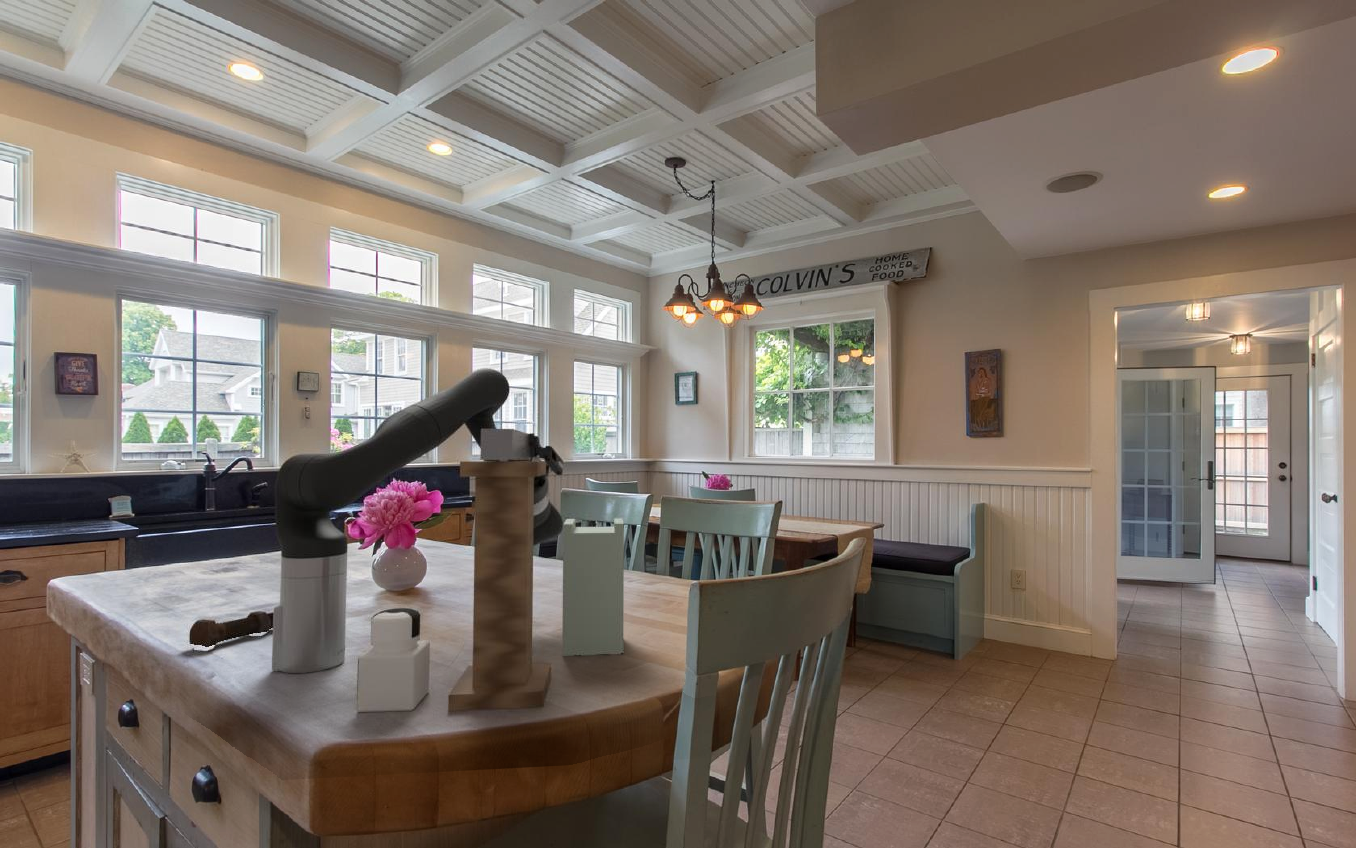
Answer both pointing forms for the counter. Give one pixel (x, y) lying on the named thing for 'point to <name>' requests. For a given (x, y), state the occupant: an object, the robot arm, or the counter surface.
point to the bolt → (229, 628)
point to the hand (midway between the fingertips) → (516, 438)
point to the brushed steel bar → (504, 445)
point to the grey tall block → (593, 589)
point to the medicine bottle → (393, 663)
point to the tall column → (502, 591)
